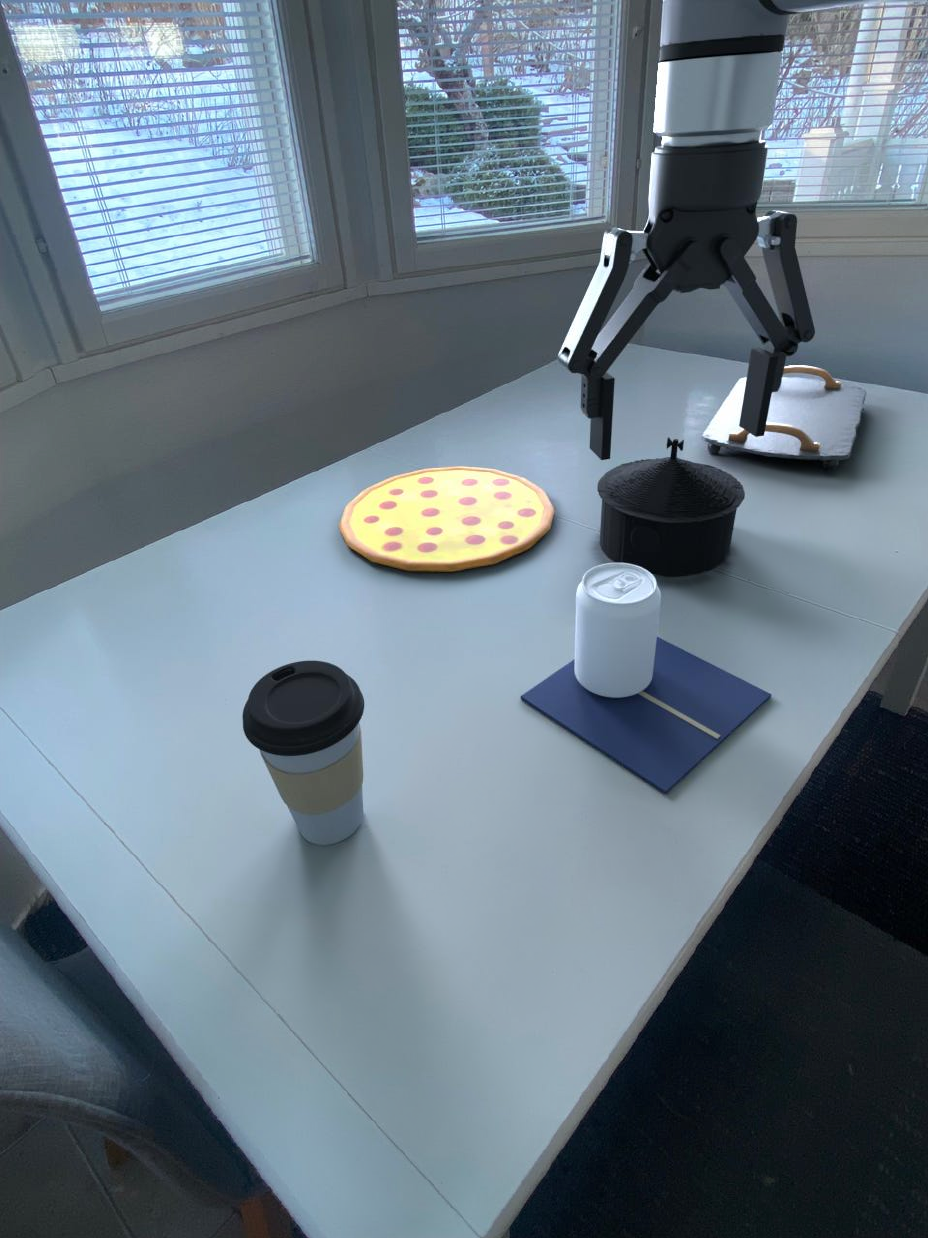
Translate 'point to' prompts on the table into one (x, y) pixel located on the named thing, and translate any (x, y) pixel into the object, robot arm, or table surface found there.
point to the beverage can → (616, 629)
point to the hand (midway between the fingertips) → (676, 442)
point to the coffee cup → (311, 745)
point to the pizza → (446, 519)
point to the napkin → (654, 714)
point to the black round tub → (668, 514)
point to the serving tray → (794, 420)
